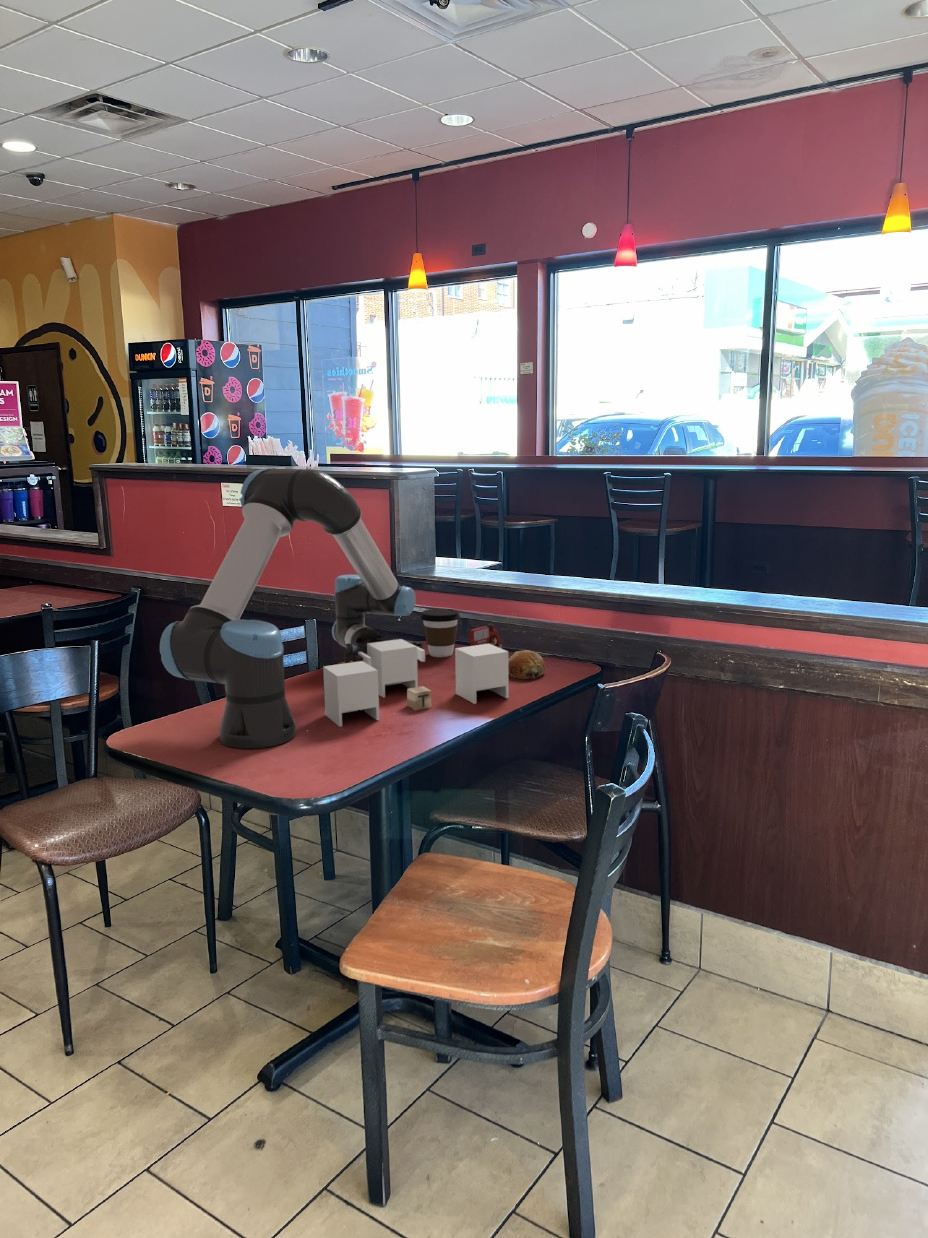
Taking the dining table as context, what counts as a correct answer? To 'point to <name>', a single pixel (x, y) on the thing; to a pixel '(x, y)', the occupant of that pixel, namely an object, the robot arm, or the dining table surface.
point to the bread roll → (525, 665)
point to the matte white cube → (350, 690)
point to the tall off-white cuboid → (394, 663)
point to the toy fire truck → (485, 636)
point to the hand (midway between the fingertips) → (397, 659)
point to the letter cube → (419, 698)
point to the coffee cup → (440, 630)
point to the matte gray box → (481, 671)
